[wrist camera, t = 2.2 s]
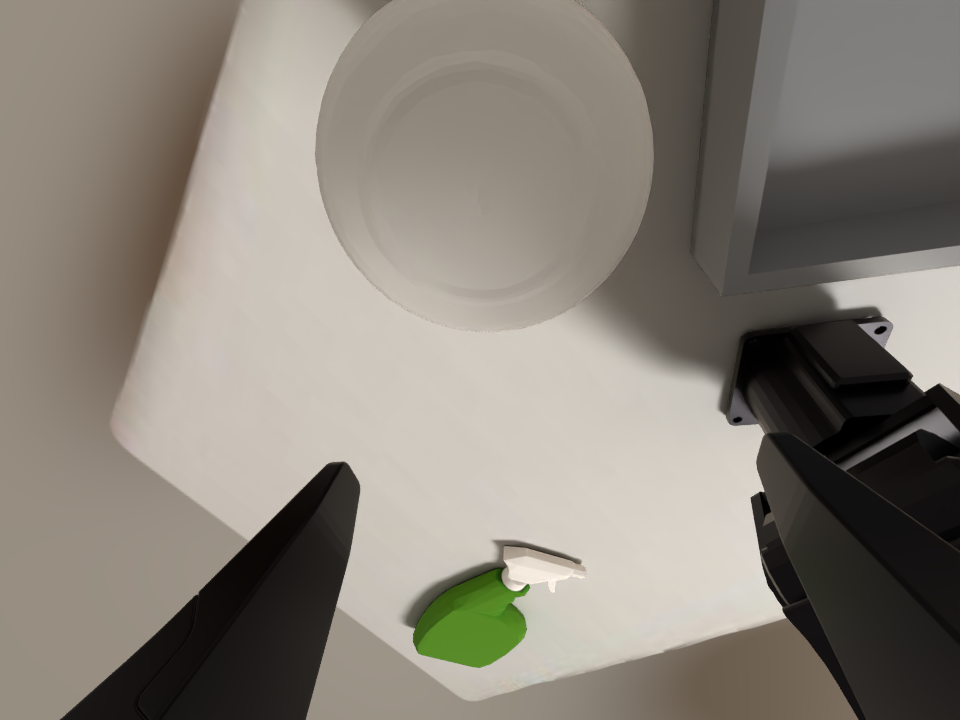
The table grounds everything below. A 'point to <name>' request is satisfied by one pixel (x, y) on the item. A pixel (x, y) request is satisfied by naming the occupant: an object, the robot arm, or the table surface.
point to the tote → (828, 142)
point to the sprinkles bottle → (484, 158)
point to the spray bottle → (487, 609)
